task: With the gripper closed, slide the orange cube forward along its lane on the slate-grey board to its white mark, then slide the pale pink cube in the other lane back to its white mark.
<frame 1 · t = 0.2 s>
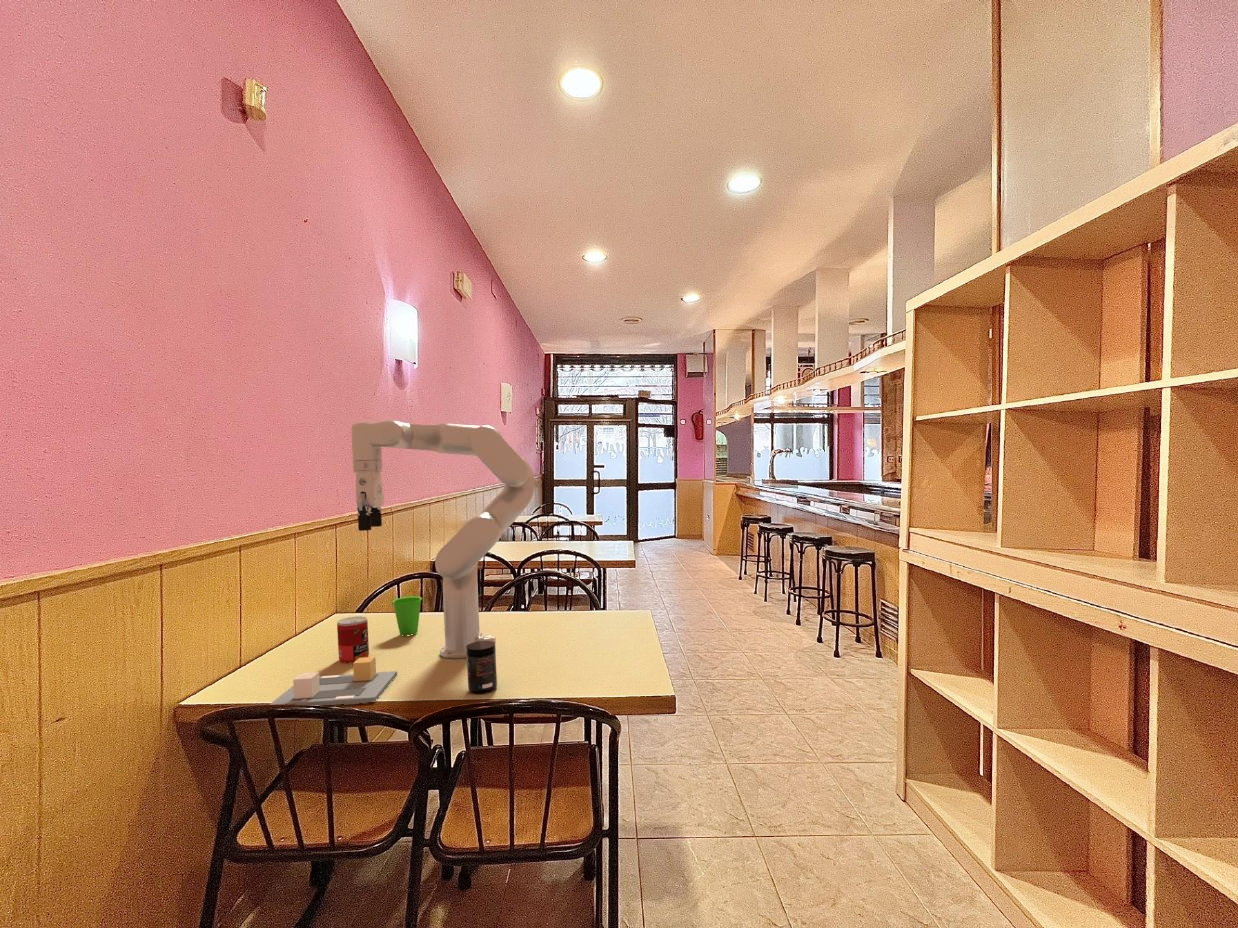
hand: (370, 528, 168), 36 cm above the table, tool pointing down, fingers open, 9 cm apart
supplement container: (482, 690, 141), on the table
orange cube: (364, 668, 148), point 4 cm above the table, slide at 0.0 cm
pale pink cube: (306, 685, 139), point 4 cm above the table, slide at 10.0 cm
canned food: (354, 659, 168), on the table
cup: (408, 634, 191), on the table
switch board: (337, 691, 144), on the table
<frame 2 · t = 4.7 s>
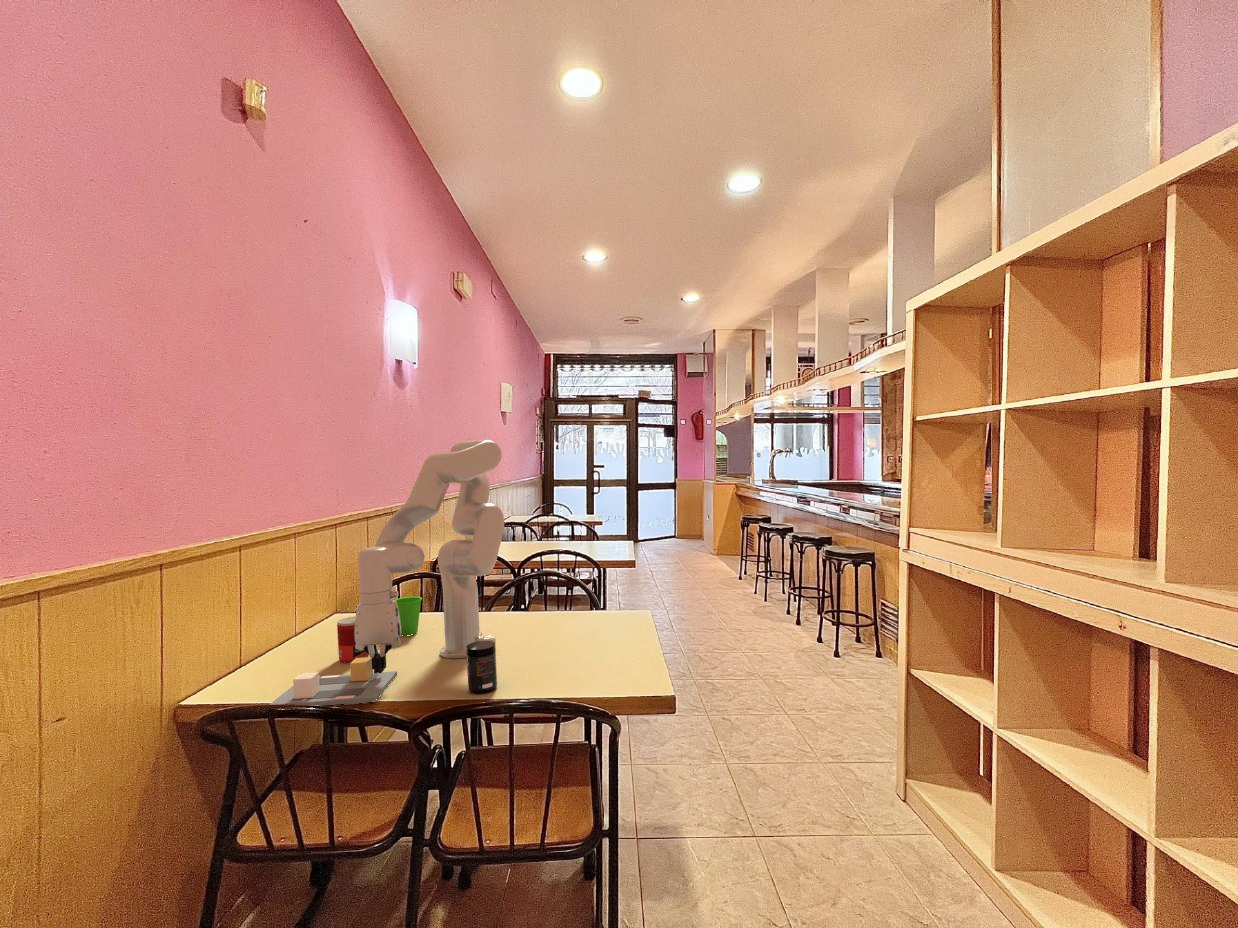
hand: (379, 671, 149), 3 cm above the table, tool pointing down, fingers closed
orange cube: (361, 668, 148), point 4 cm above the table, slide at 0.8 cm, touching gripper
everything else where it was.
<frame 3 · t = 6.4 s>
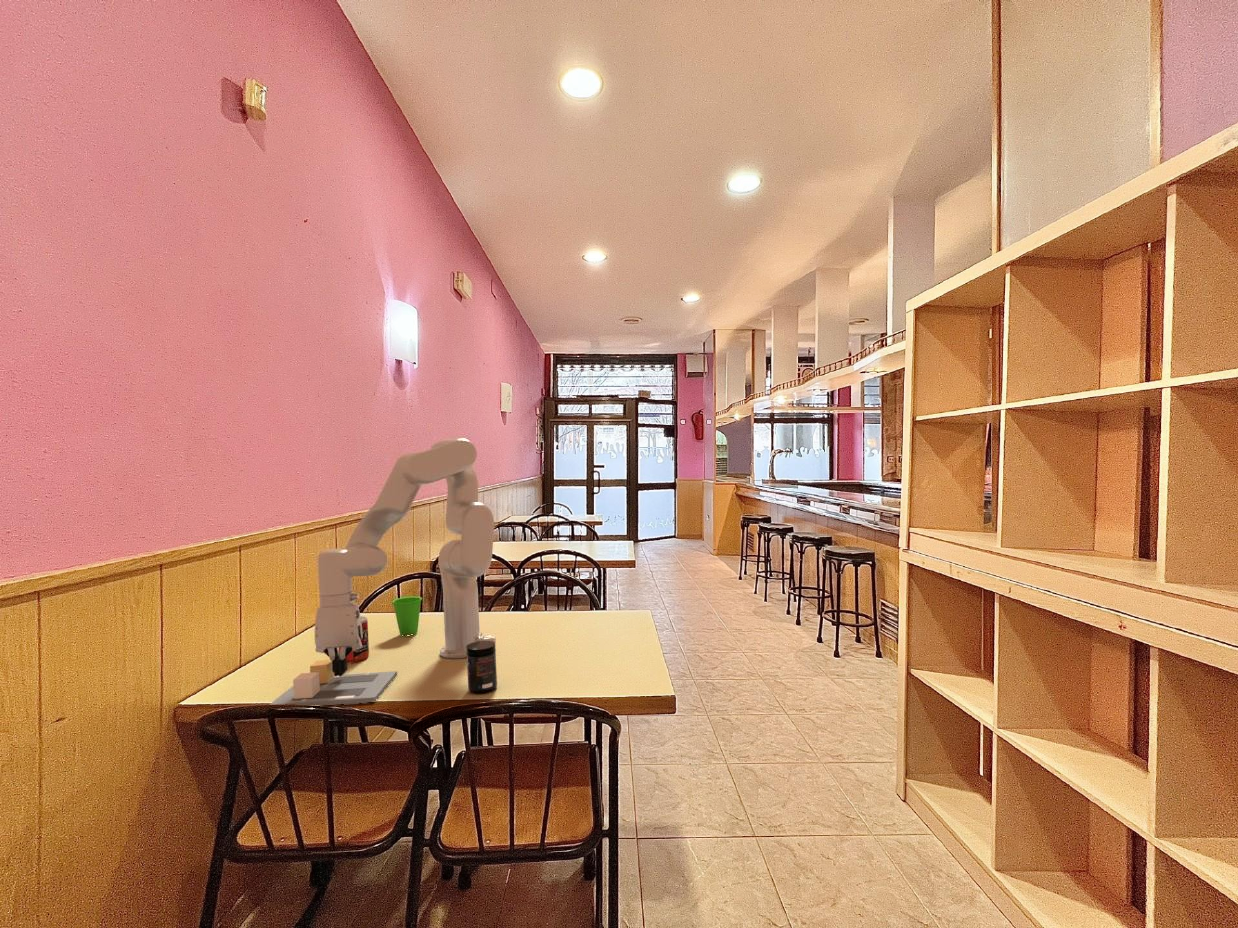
hand: (340, 674, 148), 3 cm above the table, tool pointing down, fingers closed
orange cube: (322, 671, 148), point 4 cm above the table, slide at 10.1 cm, touching gripper
everything else where it was.
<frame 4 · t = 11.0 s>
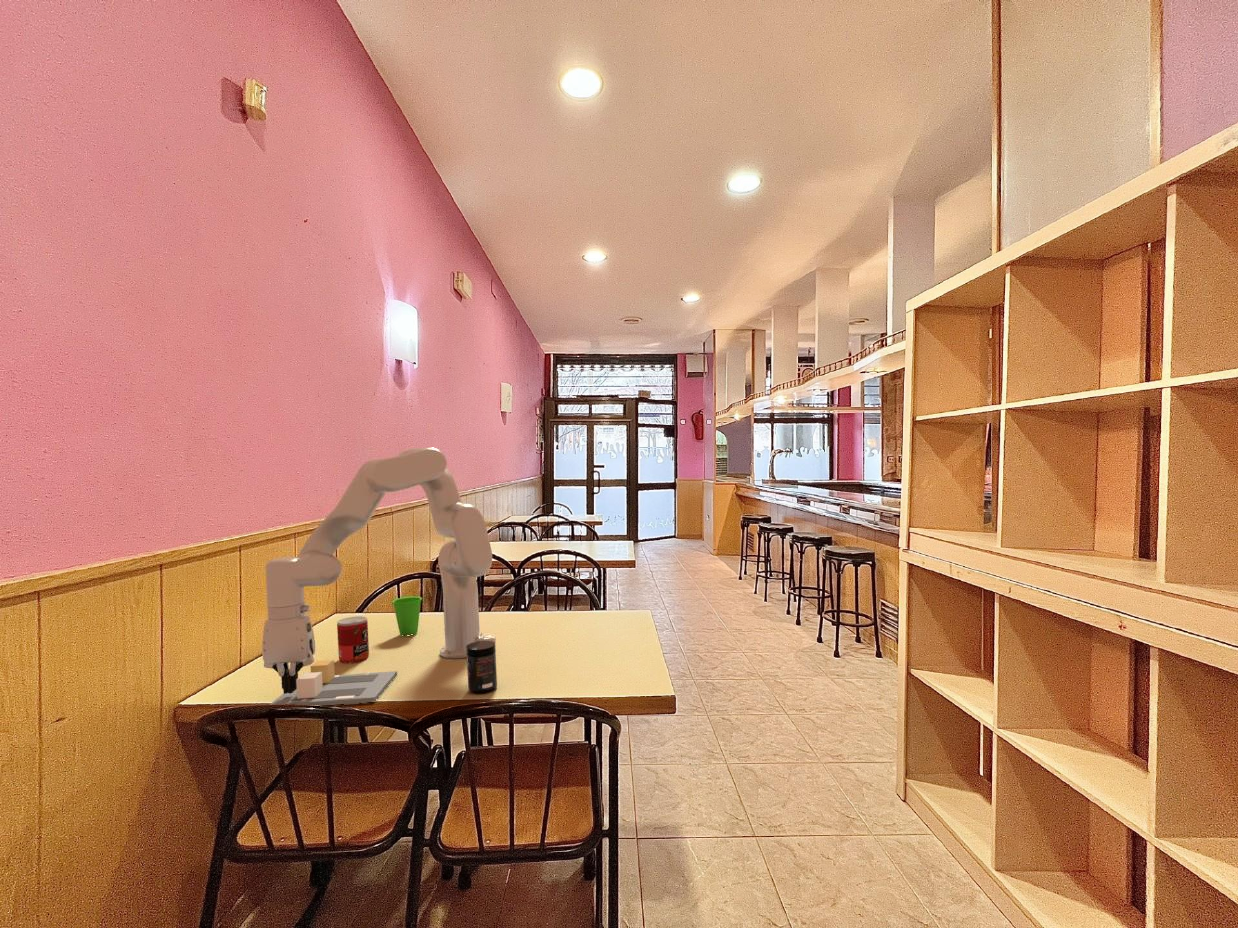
hand: (290, 691, 139), 2 cm above the table, tool pointing down, fingers closed
orange cube: (322, 671, 148), point 4 cm above the table, slide at 10.0 cm
pale pink cube: (309, 684, 139), point 4 cm above the table, slide at 9.3 cm, touching gripper
everything else where it was.
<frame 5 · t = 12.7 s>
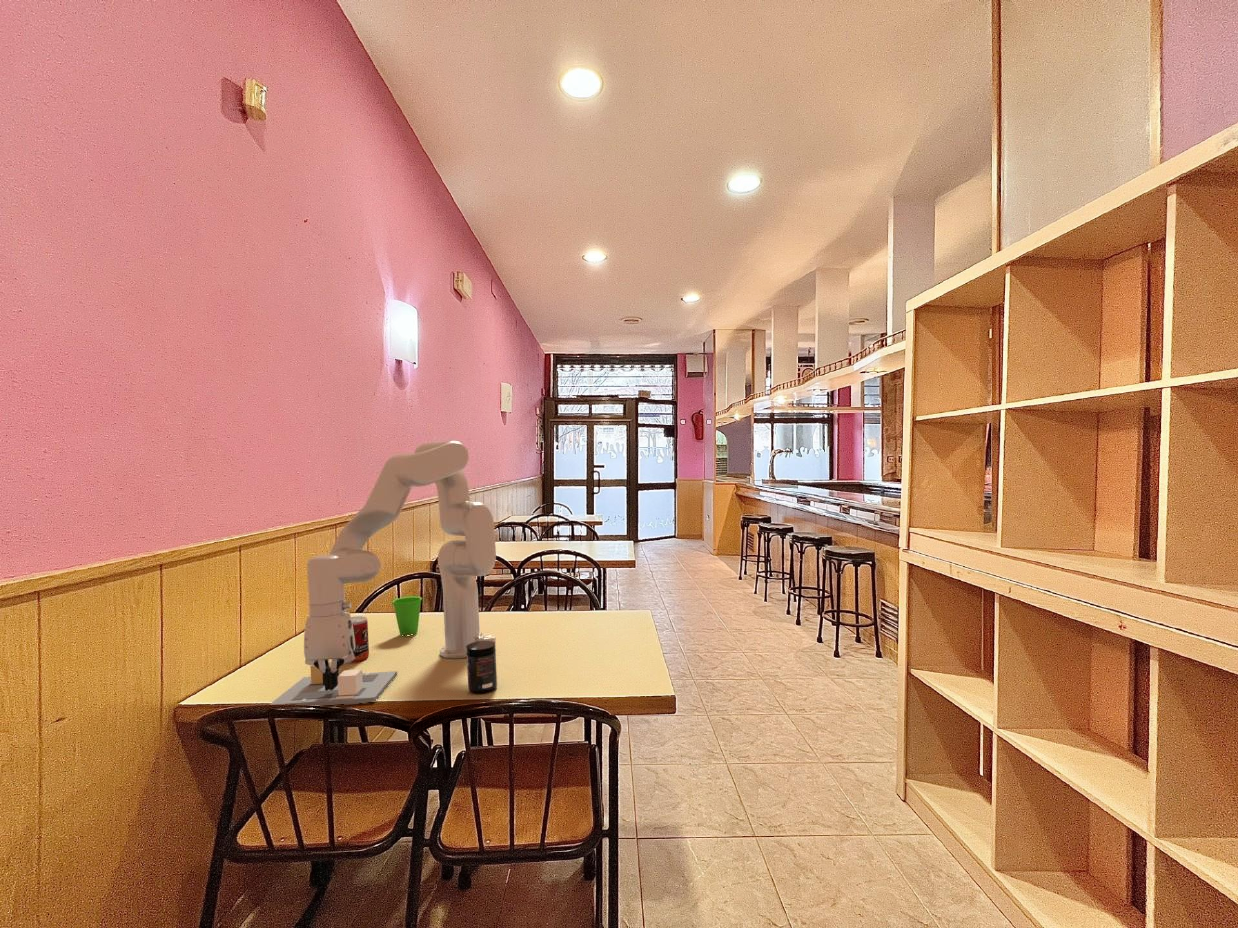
hand: (331, 687, 139), 3 cm above the table, tool pointing down, fingers closed
pale pink cube: (350, 682, 140), point 4 cm above the table, slide at 0.2 cm, touching gripper
everything else where it was.
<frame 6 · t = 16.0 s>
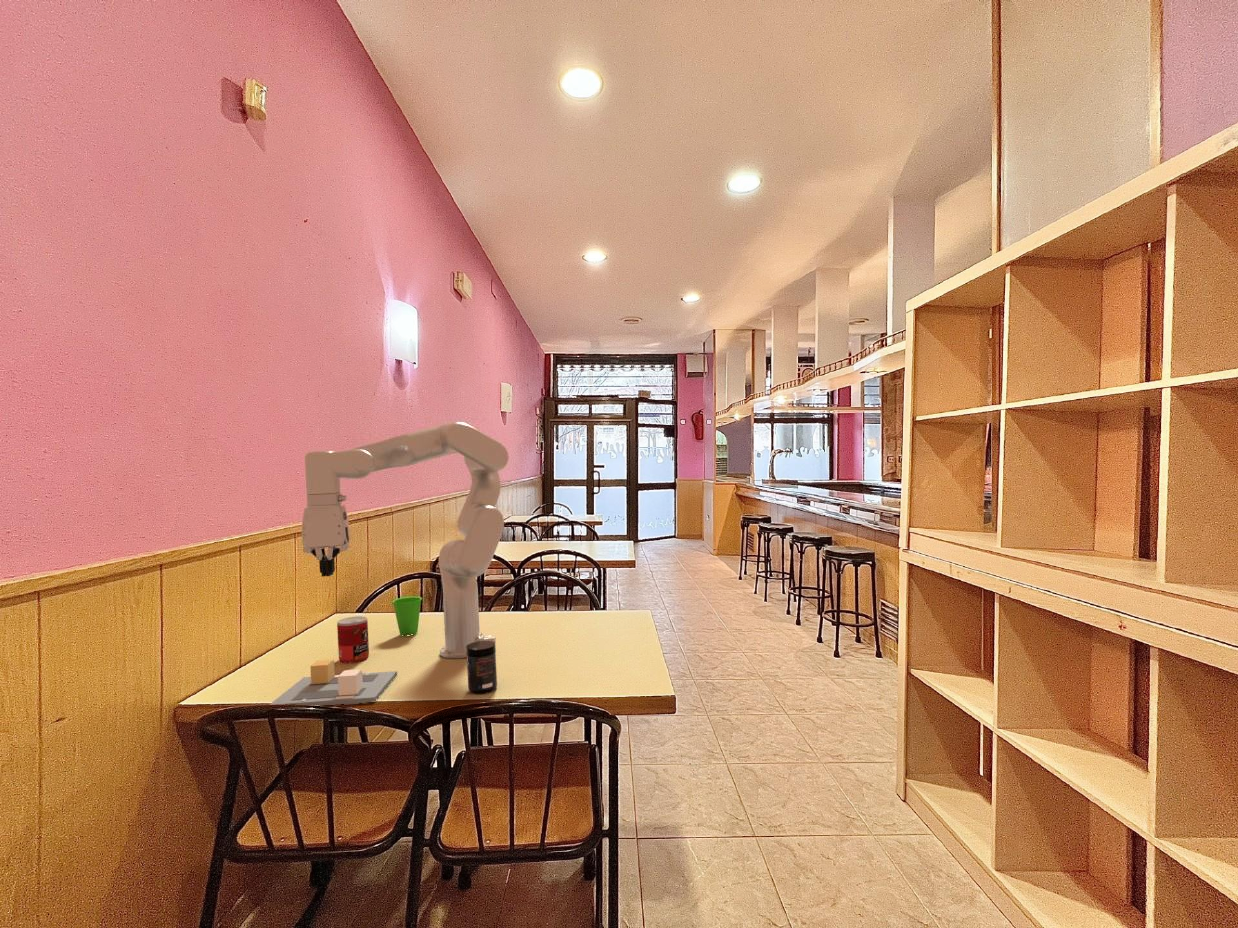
hand: (327, 575, 148), 27 cm above the table, tool pointing down, fingers closed
pale pink cube: (350, 682, 140), point 4 cm above the table, slide at 0.2 cm
everything else where it was.
at the end: orange cube slide at 10.0 cm; pale pink cube slide at 0.2 cm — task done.
